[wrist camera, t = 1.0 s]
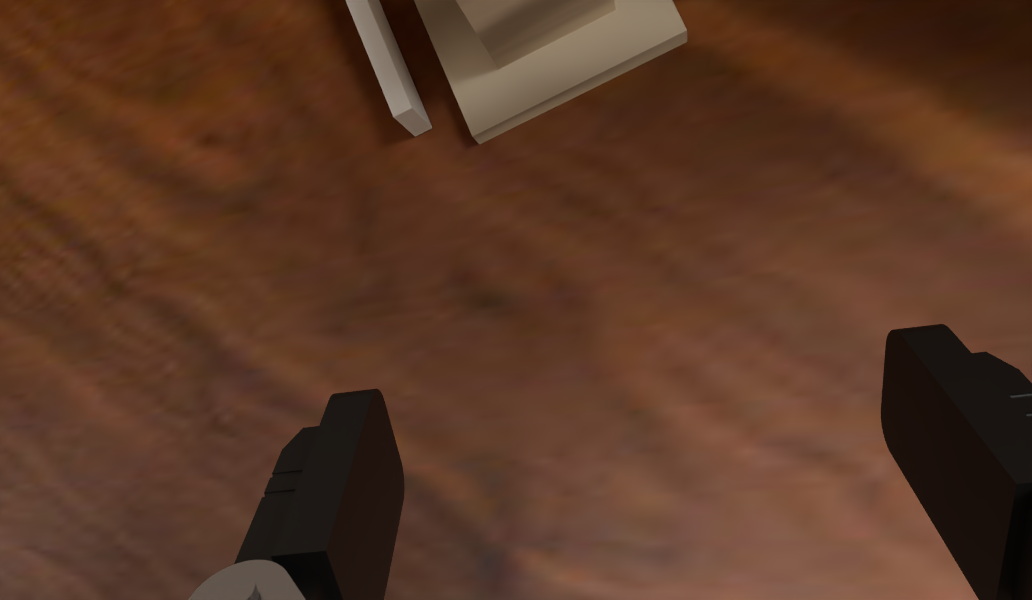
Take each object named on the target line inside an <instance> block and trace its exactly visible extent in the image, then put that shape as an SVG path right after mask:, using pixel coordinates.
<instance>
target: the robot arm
mask: <svg viewBox="0 0 1032 600" xmlns="http://www.w3.org/2000/svg"><path fill="white" fill-rule="evenodd" d="M881 423H882V429H883V434H884V438H885V441H886V444H887V446H888V449H889V451H890V453H891V454H892V456H893V458H894V459H895V461H896V463H897V464H898V466H899V468H900V469H901V471H902V473H903V474H904V476H905V478H906V479H907V481H908V483H909V484H910V486H911V488H912V489H913V491H914V493H915V494H916V496H917V498H918V499H919V501H920V503H921V504H922V506H923V508H924V509H925V511H926V513H927V514H928V516H929V518H930V519H931V521H932V523H933V524H934V526H935V528H936V529H937V531H938V533H939V534H940V536H941V538H942V539H943V541H944V543H945V544H946V546H947V547H948V549H949V551H950V552H951V554H952V556H953V557H954V559H955V561H956V562H957V564H958V566H959V567H960V569H961V571H962V572H963V574H964V576H965V577H966V579H967V581H968V582H969V584H970V586H971V587H972V589H973V591H974V592H975V594H976V596H977V597H978V599H979V600H1032V383H1031V382H1030V381H1029V380H1028V379H1027V378H1026V377H1025V376H1024V375H1023V373H1022V372H1021V371H1020V370H1019V369H1017V368H1015V367H1013V366H1011V365H1010V364H1008V363H1006V362H1004V361H1002V360H1000V359H998V358H997V357H995V356H993V355H991V354H989V353H987V352H980V353H971V352H970V351H969V350H968V349H967V348H966V347H965V345H964V344H963V343H962V342H961V341H960V340H959V339H958V337H957V336H956V335H955V334H954V333H953V332H952V331H951V330H950V329H949V328H948V327H947V326H946V325H944V324H938V325H929V326H921V327H912V328H903V329H895V330H891V331H890V332H889V334H888V336H887V340H886V349H885V362H884V375H883V389H882V402H881ZM272 474H273V478H270V480H269V482H268V485H267V487H266V489H265V492H264V494H265V497H262V499H261V501H260V504H259V506H258V508H257V511H256V513H255V516H254V518H253V520H252V523H251V525H250V527H249V530H248V532H247V535H246V537H245V539H244V542H243V544H242V546H241V549H240V551H239V554H238V556H237V558H236V561H235V563H234V565H231V566H229V567H227V568H225V569H223V570H221V571H219V572H217V573H216V574H214V575H212V576H211V577H210V578H208V579H207V580H206V581H204V582H203V583H202V584H201V585H200V586H199V587H198V588H197V589H196V590H195V592H194V593H193V594H192V595H191V597H190V598H189V600H384V596H385V591H386V586H387V581H388V576H389V571H390V566H391V561H392V556H393V551H394V546H395V541H396V536H397V531H398V526H399V521H400V516H401V511H402V506H403V500H404V475H403V468H402V463H401V459H400V455H399V452H398V448H397V444H396V441H395V437H394V434H393V430H392V426H391V423H390V419H389V416H388V412H387V408H386V405H385V401H384V398H383V396H382V393H381V392H380V390H379V389H370V390H362V391H353V392H345V393H336V394H333V395H332V396H331V397H330V399H329V401H328V404H327V407H326V409H325V412H324V415H323V418H322V420H321V423H320V426H316V427H307V428H303V429H302V430H301V431H300V432H299V433H298V434H297V435H296V436H295V437H294V438H293V439H292V440H291V441H290V442H289V443H288V444H287V445H286V446H285V447H284V448H283V449H282V451H281V454H280V456H279V459H278V461H277V463H276V466H275V468H274V470H273V473H272Z"/></svg>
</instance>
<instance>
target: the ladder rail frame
mask: <svg viewBox="0 0 1032 600" xmlns="http://www.w3.org/2000/svg"><path fill="white" fill-rule="evenodd" d="M346 3H347V5H348V8H349V10H350V13H351V15H352V17H353V20H354V22H355V25H356V27H357V30H358V32H359V35H360V37H361V39H362V42H363V44H364V47H365V49H366V52H367V54H368V57H369V59H370V61H371V64H372V66H373V69H374V71H375V74H376V76H377V78H378V81H379V83H380V86H381V88H382V91H383V93H384V96H385V98H386V100H387V103H388V105H389V108H390V110H391V113H392V115H393V117H394V118H395V119H396V120H397V121H398V122H399V123H400V124H402V125H403V126H404V127H405V128H406V129H407V130H408V131H409V132H411V133H412V134H413V135H414V136H415V137H416V136H418V135H420V134H422V133H424V132H426V131H428V130H430V129H432V126H431V123H430V121H429V119H428V116H427V114H426V111H425V109H424V107H423V104H422V102H421V99H420V97H419V95H418V92H417V90H416V87H415V85H414V83H413V80H412V78H411V76H410V73H409V71H408V68H407V66H406V64H405V61H404V59H403V56H402V54H401V52H400V49H399V47H398V44H397V42H396V40H395V37H394V35H393V33H392V30H391V28H390V25H389V23H388V21H387V18H386V16H385V13H384V11H383V9H382V6H381V4H380V1H379V0H346Z"/></svg>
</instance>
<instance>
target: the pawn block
mask: <svg viewBox="0 0 1032 600" xmlns="http://www.w3.org/2000/svg"><path fill="white" fill-rule="evenodd" d="M414 2H415V4H416V6H417V9H418V11H419V13H420V16H421V18H422V20H423V23H424V25H425V27H426V30H427V32H428V34H429V37H430V39H431V41H432V44H433V46H434V48H435V51H436V53H437V55H438V58H439V60H440V62H441V65H442V67H443V69H444V72H445V74H446V76H447V79H448V81H449V83H450V86H451V88H452V90H453V93H454V95H455V97H456V100H457V102H458V104H459V107H460V109H461V111H462V114H463V116H464V118H465V121H466V123H467V125H468V128H469V130H470V132H471V135H472V137H473V138H474V139H475V140H476V141H477V142H478V143H479V144H481V143H483V142H485V141H487V140H490V139H492V138H494V137H496V136H498V135H500V134H502V133H504V132H506V131H508V130H510V129H512V128H514V127H516V126H518V125H520V124H522V123H524V122H526V121H528V120H530V119H532V118H534V117H536V116H538V115H540V114H542V113H544V112H546V111H548V110H550V109H552V108H554V107H556V106H558V105H561V104H563V103H565V102H567V101H569V100H571V99H573V98H575V97H577V96H579V95H581V94H583V93H585V92H587V91H589V90H591V89H593V88H595V87H597V86H599V85H601V84H603V83H605V82H607V81H609V80H611V79H613V78H615V77H617V76H619V75H621V74H623V73H625V72H627V71H629V70H631V69H634V68H636V67H638V66H640V65H642V64H644V63H646V62H648V61H650V60H652V59H654V58H656V57H658V56H660V55H662V54H664V53H666V52H668V51H670V50H672V49H674V48H676V47H678V46H680V45H682V44H684V43H686V42H687V29H686V27H685V25H684V23H683V21H682V19H681V17H680V15H679V13H678V11H677V9H676V7H675V5H674V3H673V1H672V0H414Z"/></svg>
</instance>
